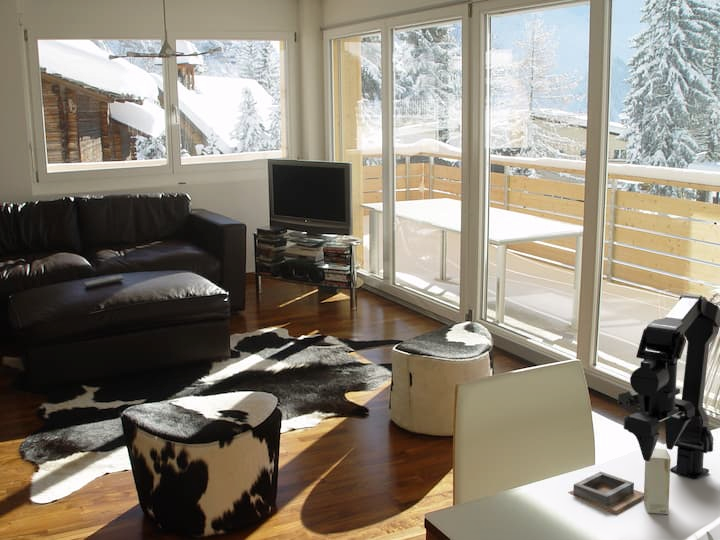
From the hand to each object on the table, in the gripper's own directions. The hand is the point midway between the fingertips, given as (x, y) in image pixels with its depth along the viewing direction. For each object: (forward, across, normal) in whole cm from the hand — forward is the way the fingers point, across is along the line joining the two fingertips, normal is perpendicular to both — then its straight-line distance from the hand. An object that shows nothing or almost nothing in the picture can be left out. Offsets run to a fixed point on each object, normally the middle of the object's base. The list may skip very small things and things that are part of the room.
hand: (658, 454), depth 173 cm
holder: (+12, +3, -10) cm, 16 cm away
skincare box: (+12, 0, 0) cm, 12 cm away
